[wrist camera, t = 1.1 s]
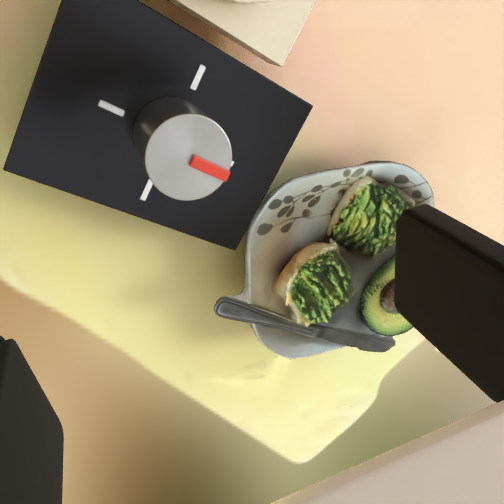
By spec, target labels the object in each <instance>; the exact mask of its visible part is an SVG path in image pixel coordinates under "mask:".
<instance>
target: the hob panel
mask: <svg viewBox="0 0 504 504" xmlns="http://www.w3.org/2000/svg"><path fill="white" fill-rule="evenodd" d="M162 97H178V98H182V99H184V100H187V101H189V102H190V103H192V104H193V105H194V106H196V107H197V108H198V109H199V110H201V111H202V112H203V113H205V114H206V115H207V116H208V117H210V118H211V119H212V120H213V121H215V122H216V123H217V124H218V125H219V126H220V127H221V128H222V129H223V130H224V132H225V133H226V135H227V137H228V139H229V141H230V144H231V149H232V162H231V167H230V170H229V171H230V172H231V173H230V175H229V177H228V179H227V181H226V182H223V183H222V184H221V186H220V187H219V188H218V189H216V190H215V191H214V192H213V193H211V194H210V195H208V196H206V197H203V198H200V199H197V200H190V201H184V200H177V199H174V198H171V197H169V196H166V195H165V194H163V193H162V192H160V191H159V190H158V189H157V188H156V187H155V186H154V185H153V183H152V182H151V180H150V178H149V176H148V174H147V172H146V170H145V168H144V166H143V163H142V161H141V159H140V157H139V155H138V152H137V150H136V148H135V145H134V140H133V128H134V124H135V121H136V118H137V116H138V115H139V113H140V112H141V110H142V109H143V108H144V107H145V106H146V105H148V104H149V103H150V102H152V101H154V100H156V99H159V98H162ZM312 107H313V106H312V105H311V104H309V103H308V102H306V101H304V100H303V99H301V98H299V97H298V96H296V95H294V94H293V93H291V92H289V91H288V90H286V89H284V88H283V87H281V86H279V85H278V84H276V83H274V82H273V81H271V80H269V79H268V78H266V77H264V76H263V75H261V74H259V73H258V72H256V71H254V70H253V69H251V68H249V67H248V66H246V65H244V64H243V63H241V62H240V61H238V60H236V59H235V58H233V57H231V56H230V55H228V54H226V53H225V52H223V51H221V50H220V49H218V48H216V47H215V46H213V45H211V44H210V43H208V42H206V41H205V40H203V39H201V38H200V37H198V36H196V35H195V34H193V33H191V32H190V31H188V30H186V29H185V28H183V27H181V26H180V25H178V24H176V23H175V22H173V21H171V20H170V19H168V18H167V17H165V16H163V15H162V14H160V13H158V12H157V11H155V10H153V9H152V8H150V7H148V6H147V5H145V4H143V3H142V2H140V1H138V0H61V3H60V6H59V9H58V12H57V15H56V18H55V21H54V24H53V26H52V29H51V32H50V35H49V38H48V41H47V44H46V47H45V50H44V52H43V55H42V58H41V61H40V64H39V67H38V70H37V73H36V75H35V78H34V81H33V84H32V87H31V90H30V93H29V96H28V99H27V101H26V104H25V107H24V110H23V113H22V116H21V119H20V122H19V124H18V127H17V130H16V133H15V136H14V139H13V142H12V145H11V148H10V150H9V153H8V156H7V159H6V162H5V165H4V168H3V170H5V171H8V172H11V173H13V174H16V175H19V176H22V177H25V178H28V179H31V180H34V181H36V182H39V183H42V184H45V185H48V186H51V187H54V188H56V189H59V190H62V191H65V192H68V193H71V194H74V195H77V196H79V197H82V198H85V199H88V200H91V201H94V202H97V203H100V204H102V205H105V206H108V207H111V208H114V209H117V210H120V211H122V212H125V213H128V214H131V215H134V216H137V217H140V218H143V219H145V220H148V221H151V222H154V223H157V224H160V225H163V226H166V227H168V228H171V229H174V230H177V231H180V232H183V233H186V234H188V235H191V236H194V237H197V238H200V239H203V240H206V241H209V242H211V243H214V244H217V245H220V246H223V247H226V248H229V249H232V250H234V251H235V250H236V249H237V247H238V245H239V243H240V241H241V239H242V237H243V236H244V234H245V232H246V230H247V228H248V226H249V224H250V222H251V221H252V219H253V217H254V215H255V213H256V211H257V209H258V208H259V206H260V204H261V202H262V200H263V198H264V196H265V195H266V193H267V191H268V189H269V187H270V185H271V183H272V181H273V180H274V178H275V176H276V174H277V172H278V170H279V168H280V167H281V165H282V163H283V161H284V159H285V157H286V155H287V154H288V152H289V150H290V148H291V146H292V144H293V142H294V141H295V139H296V137H297V135H298V133H299V131H300V129H301V127H302V126H303V124H304V122H305V120H306V118H307V116H308V114H309V113H310V111H311V109H312Z"/></svg>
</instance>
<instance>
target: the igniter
mask: <svg viewBox="0 0 504 504" xmlns="http://www.w3.org/2000/svg"><path fill="white" fill-rule="evenodd" d="M168 1H170V2H171V3H173V4H175V5H176V6H178V7H179V8H181V9H183V10H184V11H186V12H187V13H189V14H191V15H192V16H194V17H195V18H197V19H199V20H200V21H202V22H203V23H205V24H207V25H208V26H210V27H211V28H213V29H215V30H216V31H218V32H219V33H221V34H223V35H224V36H226V37H227V38H229V39H231V40H232V41H234V42H235V43H237V44H239V45H240V46H242V47H243V48H245V49H247V50H248V51H250V52H251V53H253V54H255V55H256V56H258V57H259V58H261V59H263V60H264V61H266V62H268V63H270V64H274V65H277V66H281V67H282V66H283V64H284V62H285V60H286V58H287V56H288V54H289V52H290V50H291V48H292V46H293V44H294V42H295V40H296V38H297V36H298V34H299V32H300V30H301V28H302V26H303V24H304V22H305V20H306V18H307V16H308V14H309V12H310V10H311V8H312V6H313V4H314V2H315V0H168Z"/></svg>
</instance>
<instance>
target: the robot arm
mask: <svg viewBox="0 0 504 504" xmlns="http://www.w3.org/2000/svg"><path fill="white" fill-rule="evenodd" d="M394 304H395V307H396V309H397V311H398V312H399V313H400V314H401V315H402V316H403V317H404V318H405V319H406V320H407V321H408V322H409V323H410V324H411V325H412V326H413V327H414V328H416V329H417V330H418V331H419V332H420V333H421V334H422V335H423V336H424V337H425V338H426V339H427V340H428V341H430V342H431V343H432V344H433V345H434V346H435V347H436V348H437V349H438V350H439V351H440V352H441V353H442V354H443V355H445V356H446V357H447V358H448V359H449V360H450V361H451V362H452V363H453V364H454V365H455V366H457V368H459V369H460V370H461V371H462V372H463V373H464V374H465V375H466V376H467V377H468V378H469V379H470V380H471V381H473V382H474V383H475V384H476V385H477V386H478V387H479V388H480V389H481V390H482V391H483V392H485V394H486V395H488V396H489V397H490V398H491V399H492V400H493V401H495V402H497V403H496V404H494V405H491V406H490V407H487V408H485V409H482V410H480V411H478V412H475V413H473V414H471V415H469V416H466V417H464V418H462V419H459V420H457V421H455V422H452V423H450V424H448V425H446V426H444V427H441V428H439V429H437V430H434V431H432V432H430V433H427V434H425V435H423V436H421V437H418V438H416V439H414V440H412V441H409V442H407V443H405V444H403V445H401V446H398V447H396V448H393V449H391V450H389V451H387V452H384V453H382V454H380V455H378V456H376V457H373V458H371V459H369V460H366V461H364V462H362V463H360V464H357V465H355V466H353V467H351V468H348V469H346V470H344V471H342V472H339V473H337V474H335V475H333V476H330V477H328V478H326V479H324V480H322V481H319V482H317V483H315V484H312V485H310V486H308V487H306V488H303V489H301V490H299V491H297V492H294V493H292V494H290V495H288V496H285V497H283V498H281V499H279V500H277V501H274V502H272V503H270V504H504V246H503V245H501V244H500V243H498V242H496V241H494V240H492V239H490V238H489V237H487V236H485V235H483V234H481V233H479V232H478V231H476V230H474V229H472V228H470V227H469V226H467V225H465V224H463V223H461V222H459V221H458V220H456V219H454V218H452V217H450V216H448V215H447V214H445V213H443V212H441V211H439V210H437V209H436V208H434V207H432V206H430V205H428V204H421V205H418V206H415V207H411V208H408V209H405V210H404V211H402V213H401V216H400V217H399V218H398V219H397V222H396V245H395V277H394ZM63 440H64V437H63V429H62V425H61V422H60V420H59V418H58V417H57V415H56V413H55V411H54V409H53V408H52V406H51V404H50V402H49V401H48V399H47V397H46V395H45V393H44V392H43V390H42V388H41V386H40V384H39V383H38V381H37V379H36V377H35V375H34V374H33V372H32V370H31V369H30V366H29V365H28V363H27V361H26V359H25V358H24V356H23V354H22V352H21V350H20V348H19V347H18V345H17V343H16V342H15V341H14V340H13V339H8V340H5V339H4V338H3V337H2V336H0V504H62V481H63V480H62V479H63V478H62V477H63V476H62V475H63V442H64V441H63Z"/></svg>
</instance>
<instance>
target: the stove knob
mask: <svg viewBox="0 0 504 504" xmlns="http://www.w3.org/2000/svg"><path fill="white" fill-rule="evenodd" d="M133 140H134V145H135V148H136V150H137V152H138V155H139V157H140V159H141V161H142V163H143V166H144V168H145V170H146V172H147V174H148V176H149V178H150V180H151V182H152V183H153V185H154V186H155V187H156V188H157V189H158V190H159V191H160V192H162V193H163V194H165V195H166V196H169V197H171V198H174V199H177V200H184V201H190V200H197V199H200V198H203V197H206V196H208V195H210V194H211V193H213V192H214V191H215V190H216V189H218V188H219V187H220V186H221V184H222V183H223V182H226V181H227V179H228V177H229V175H230V173H231V172H230V171H229V170H230V167H231V162H232V149H231V144H230V141H229V139H228V137H227V135H226V133H225V132H224V130H223V129H222V128H221V127H220V126H219V125H218V124H217V123H216V122H215V121H213V120H212V119H211V118H210V117H208V116H207V115H206V114H205V113H203V112H202V111H201V110H199V109H198V108H197V107H196V106H194V105H193V104H192V103H190V102H189V101H187V100H184V99H182V98H178V97H162V98H159V99H156V100H154V101H152V102H150V103H149V104H148V105H146V106H145V107H144V108H143V109H142V110H141V112H140V113H139V115H138V116H137V118H136V121H135V124H134V128H133Z"/></svg>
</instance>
